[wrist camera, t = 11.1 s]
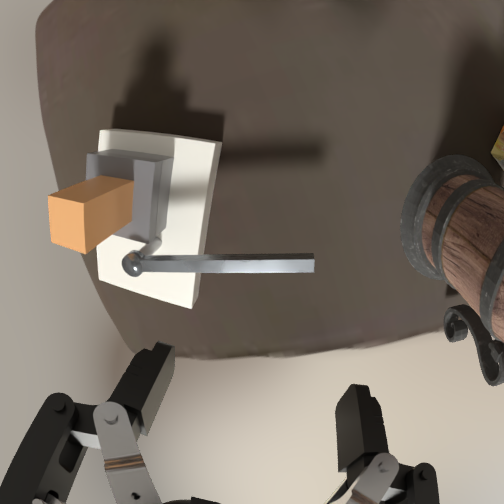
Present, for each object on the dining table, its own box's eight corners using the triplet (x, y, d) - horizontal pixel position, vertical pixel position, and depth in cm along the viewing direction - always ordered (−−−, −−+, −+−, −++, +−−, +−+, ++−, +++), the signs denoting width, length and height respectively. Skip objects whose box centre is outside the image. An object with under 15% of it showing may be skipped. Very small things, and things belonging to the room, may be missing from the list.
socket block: (114, 128, 29) (74, 133, 22) (222, 142, 28) (201, 146, 21) (109, 269, 37) (80, 297, 30) (198, 296, 37) (179, 332, 30)
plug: (111, 148, 27) (33, 168, 16) (174, 156, 27) (106, 179, 16) (108, 214, 30) (40, 257, 19) (166, 228, 30) (107, 283, 19)
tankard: (397, 155, 26) (525, 205, 8) (501, 156, 23) (614, 202, 5) (392, 326, 35) (431, 447, 17) (481, 307, 32) (539, 397, 14)
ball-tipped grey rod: (313, 246, 24) (314, 252, 23) (312, 271, 25) (313, 278, 24) (124, 250, 26) (119, 255, 25) (130, 271, 27) (125, 276, 26)
